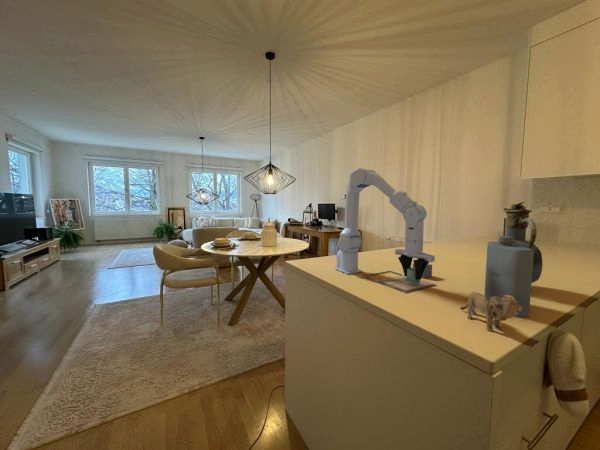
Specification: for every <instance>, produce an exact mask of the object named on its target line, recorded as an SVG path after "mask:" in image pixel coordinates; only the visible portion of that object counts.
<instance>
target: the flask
mask: <svg viewBox="0 0 600 450" xmlns="http://www.w3.org/2000/svg"><path fill="white" fill-rule="evenodd" d="M513 243H515V238H513V237H510V236H507V235H500V236H499V237H498V238H497V241H488V242H487V245H486V247H487V248H486V262H485V263H486V264H485V280H484V282H485V283H484V295H483V296H484V297H485V298H486V299H488V298H489V297H495V296H501V295H510V296H513V297H514V299H515V301H516V302H517V304H518V305H520V306H521V307H522V309H521V311H519V313H518V314H516V316H515V317H517V318H527V317H529V316H530V310H531V309H530V307H531V306H530V305H531V292H532V284H533V283H532V269H533V256H534V250H532V249H529V248H524V247H519V246H515V245H513Z"/></svg>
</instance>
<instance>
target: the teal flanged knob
mask: <svg viewBox="0 0 600 450" xmlns="http://www.w3.org/2000/svg"><path fill="white" fill-rule="evenodd" d="M405 281H406V282H408V283H412V284H419V283H420V280H416V278H415V268H413V267H411V268H407V278H406V279H405Z"/></svg>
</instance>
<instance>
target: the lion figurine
mask: <svg viewBox="0 0 600 450" xmlns="http://www.w3.org/2000/svg"><path fill="white" fill-rule="evenodd" d="M467 308H468V310H467V319H468V320H473V319H474V316H472V315H477V312H476V310H475V309H478V310H479V312H481V313H482V314H484V315H485V317H486V331H488V332H491V333H493V332H494V329H496V330H497V331H502V330H503V327H501V326H500V322H504V321H506V320H508V319H513V318H515V317H517V316H516V314H518V313H519V311H521V309H522V307H521V306H520V305H518V304H517V302H516V301H515V299H514V297H513V296H510V295H501V296H495V297H489V298H488V299H486V298H485V297H484V295H483V294H482V293H480V292H478V291H472V292H470V294H469V295H468V300H467V303H466V305H465V306H461V307H460V308H459V309H460V310H466V309H467ZM493 320H494V323H493ZM493 326H494V328H493Z"/></svg>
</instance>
